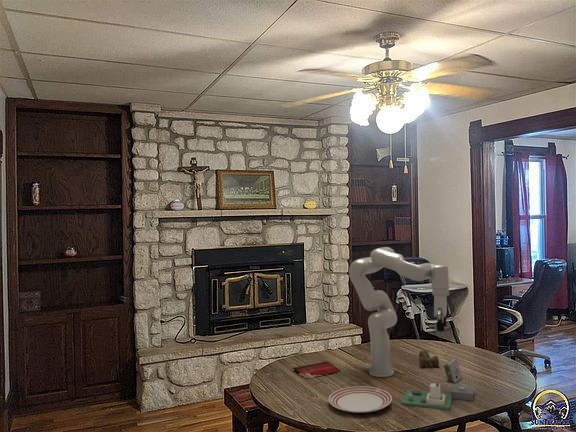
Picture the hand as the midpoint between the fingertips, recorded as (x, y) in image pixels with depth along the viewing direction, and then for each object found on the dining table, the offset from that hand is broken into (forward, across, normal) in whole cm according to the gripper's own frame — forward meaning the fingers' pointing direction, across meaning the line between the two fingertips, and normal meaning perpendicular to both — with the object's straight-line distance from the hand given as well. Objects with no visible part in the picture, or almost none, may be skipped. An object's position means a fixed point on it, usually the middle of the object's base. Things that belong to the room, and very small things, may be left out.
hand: (441, 328), depth 227 cm
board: (+28, +17, -5) cm, 33 cm away
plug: (+27, +19, -1) cm, 33 cm away
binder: (+29, -6, -65) cm, 71 cm away
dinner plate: (+29, +29, -32) cm, 52 cm away
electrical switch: (+28, -13, +3) cm, 31 cm away
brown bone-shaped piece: (+29, -32, -11) cm, 45 cm away
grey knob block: (+28, +7, +8) cm, 30 cm away
